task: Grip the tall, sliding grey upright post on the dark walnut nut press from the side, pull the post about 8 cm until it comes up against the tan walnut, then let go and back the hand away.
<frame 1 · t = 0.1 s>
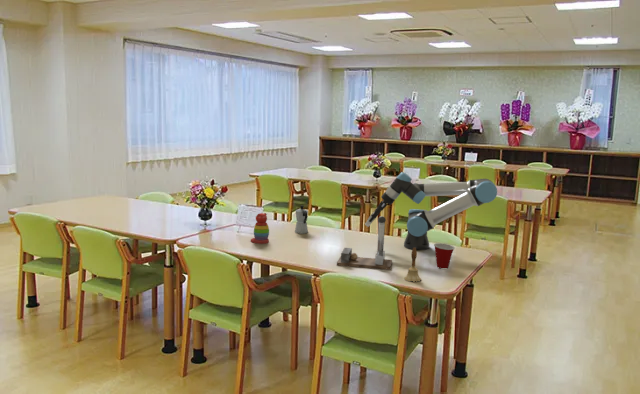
hand: (367, 223, 320), 15 cm above the table, tool tilted 35°, fingers open, 13 cm apart
stacking bear: (261, 242, 331), on the table
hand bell: (412, 280, 266), on the table
grey upright post: (380, 239, 286), point 14 cm above the table, slide at 0.0 cm
coffee maker: (302, 232, 359), on the table
plastic cup: (442, 267, 288), on the table
press base: (364, 263, 290), on the table
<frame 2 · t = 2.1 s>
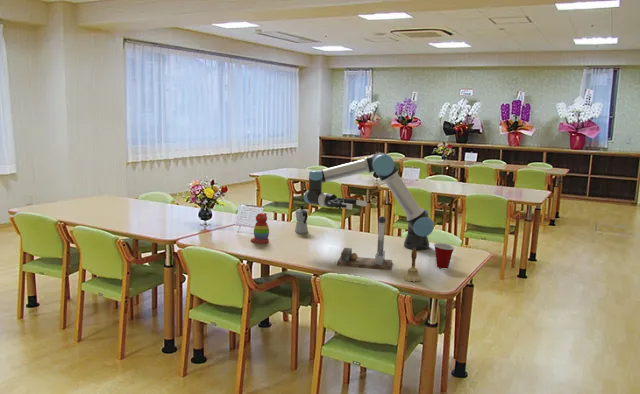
hand: (359, 205, 292), 30 cm above the table, tool horizontal, fingers open, 13 cm apart
nothing on the table moved.
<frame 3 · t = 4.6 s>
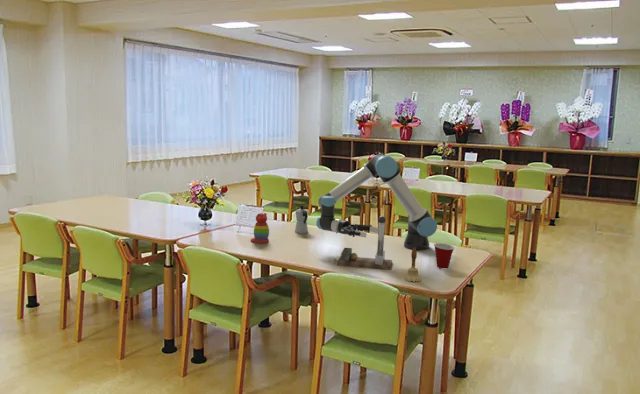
hand: (373, 232, 288), 17 cm above the table, tool horizontal, fingers open, 13 cm apart
nothing on the table moved.
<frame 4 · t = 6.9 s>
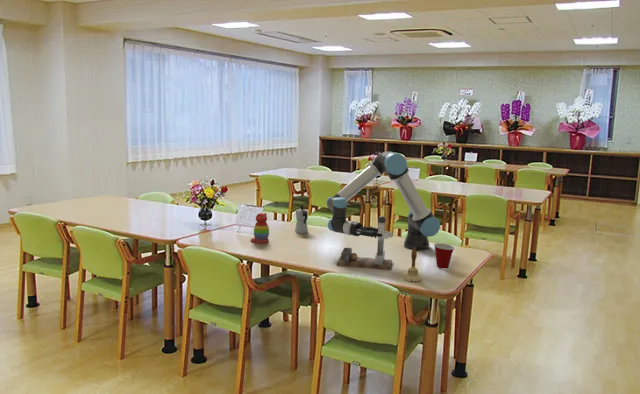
hand: (390, 235, 282), 17 cm above the table, tool horizontal, fingers closed on grey upright post, 3 cm apart
grey upright post: (380, 239, 286), point 14 cm above the table, slide at 0.0 cm, touching gripper
everything else where it was.
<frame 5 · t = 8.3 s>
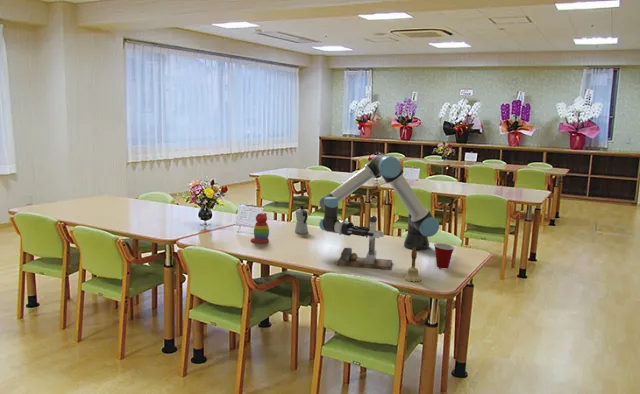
hand: (381, 235, 283), 17 cm above the table, tool horizontal, fingers closed on grey upright post, 3 cm apart
grey upright post: (372, 238, 287), point 14 cm above the table, slide at 4.6 cm, touching gripper
everything else where it was.
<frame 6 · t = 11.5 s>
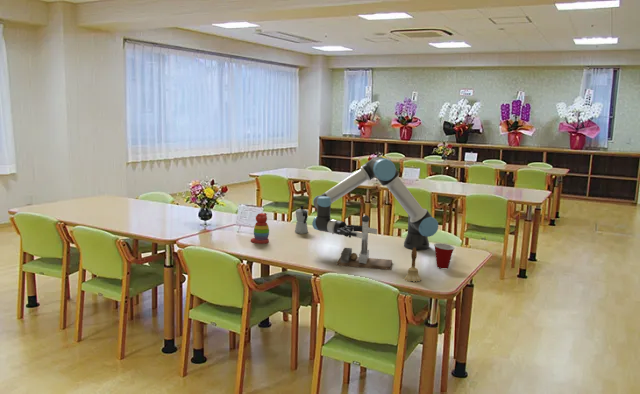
hand: (369, 233, 286), 17 cm above the table, tool horizontal, fingers open, 13 cm apart
grey upright post: (364, 238, 288), point 14 cm above the table, slide at 8.5 cm
everything else where it was.
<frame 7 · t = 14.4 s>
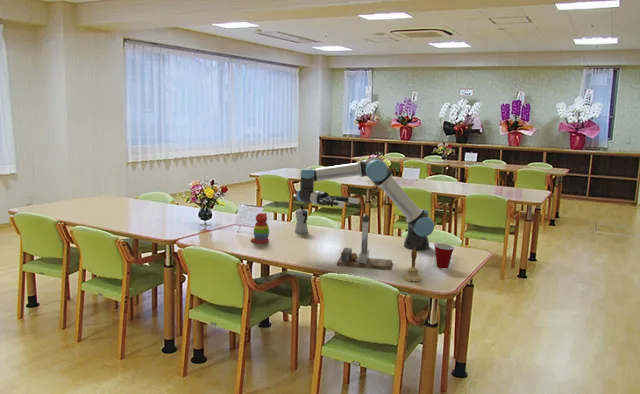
hand: (351, 202, 291), 32 cm above the table, tool horizontal, fingers open, 13 cm apart
nothing on the table moved.
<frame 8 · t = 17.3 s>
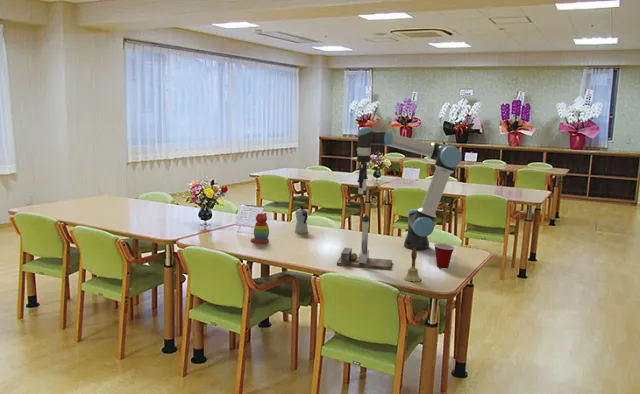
hand: (362, 192, 311), 35 cm above the table, tool pointing down, fingers open, 13 cm apart
nothing on the table moved.
at the end: grey upright post slide at 8.5 cm; the gripper is holding nothing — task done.
